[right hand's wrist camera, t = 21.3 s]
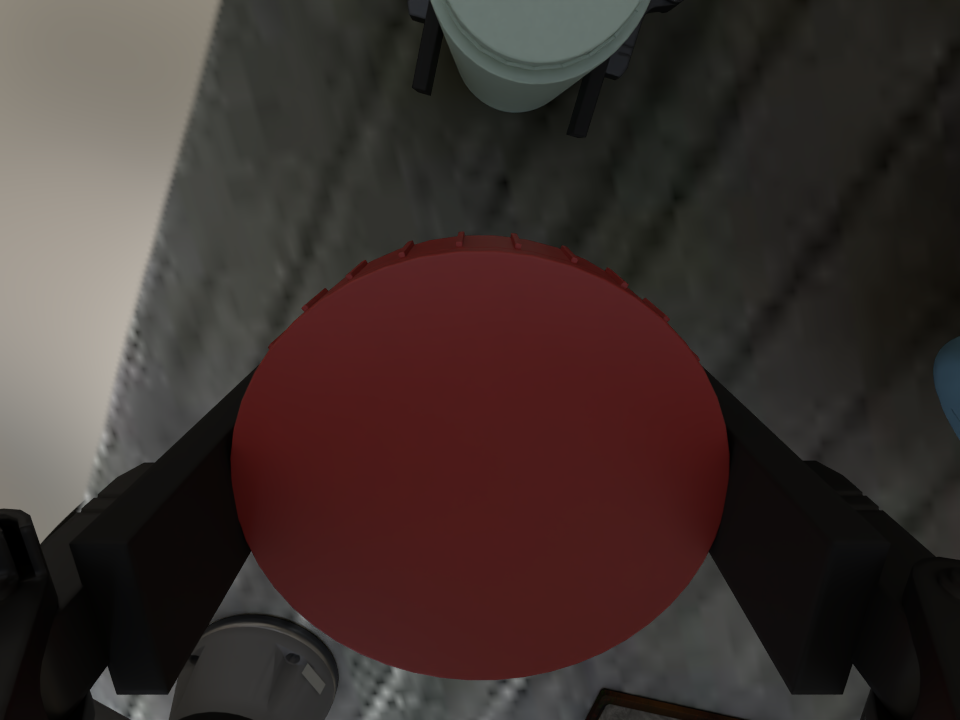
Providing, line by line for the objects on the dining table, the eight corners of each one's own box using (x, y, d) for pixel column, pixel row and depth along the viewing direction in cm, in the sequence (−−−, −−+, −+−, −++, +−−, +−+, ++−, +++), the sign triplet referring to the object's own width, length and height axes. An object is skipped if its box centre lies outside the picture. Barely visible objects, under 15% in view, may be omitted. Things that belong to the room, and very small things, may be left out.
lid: (170, 398, 12) (115, 441, 10) (550, 126, 10) (566, 118, 8) (431, 669, 14) (424, 742, 12) (768, 497, 12) (815, 553, 11)
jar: (582, 106, 37) (674, 67, 18) (459, 118, 37) (430, 90, 19) (581, -42, 34) (688, -264, 15) (446, -28, 34) (397, -229, 16)
